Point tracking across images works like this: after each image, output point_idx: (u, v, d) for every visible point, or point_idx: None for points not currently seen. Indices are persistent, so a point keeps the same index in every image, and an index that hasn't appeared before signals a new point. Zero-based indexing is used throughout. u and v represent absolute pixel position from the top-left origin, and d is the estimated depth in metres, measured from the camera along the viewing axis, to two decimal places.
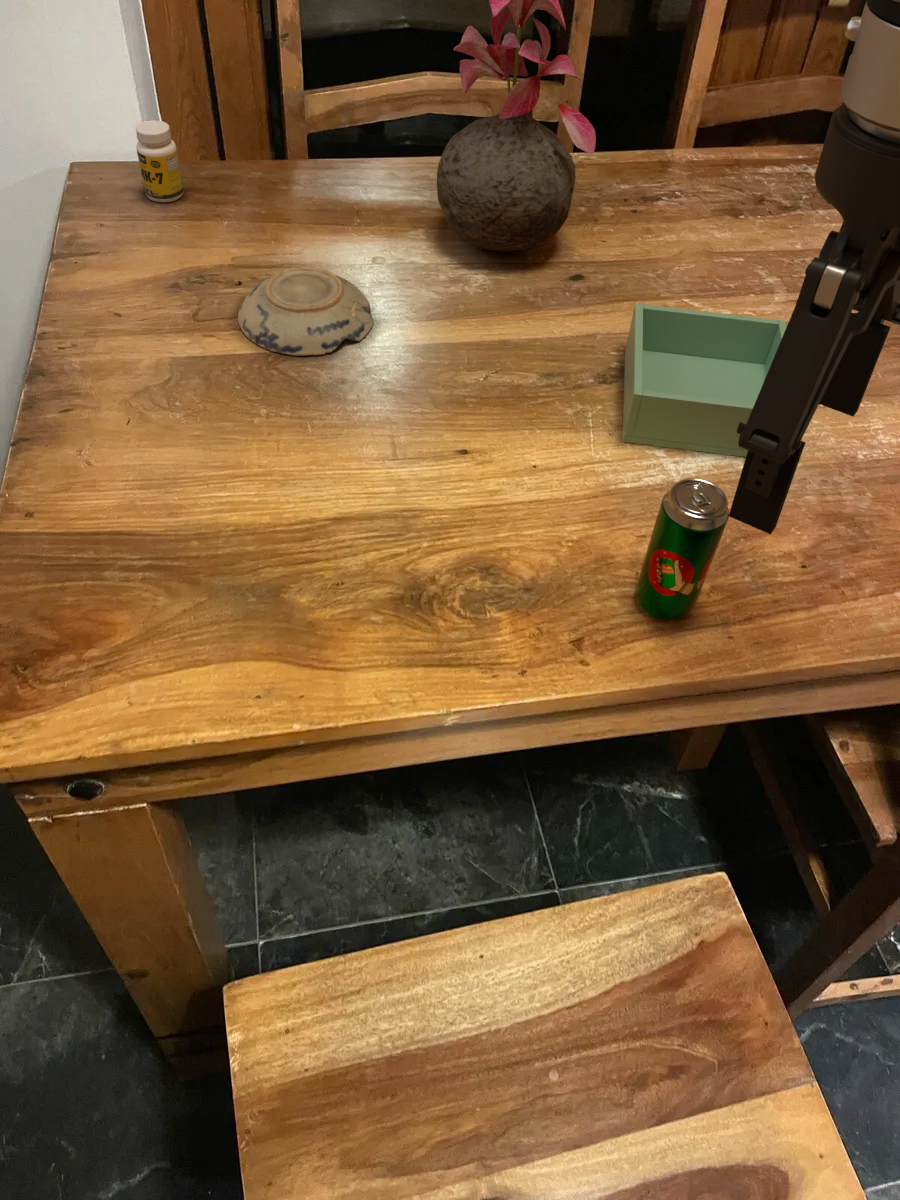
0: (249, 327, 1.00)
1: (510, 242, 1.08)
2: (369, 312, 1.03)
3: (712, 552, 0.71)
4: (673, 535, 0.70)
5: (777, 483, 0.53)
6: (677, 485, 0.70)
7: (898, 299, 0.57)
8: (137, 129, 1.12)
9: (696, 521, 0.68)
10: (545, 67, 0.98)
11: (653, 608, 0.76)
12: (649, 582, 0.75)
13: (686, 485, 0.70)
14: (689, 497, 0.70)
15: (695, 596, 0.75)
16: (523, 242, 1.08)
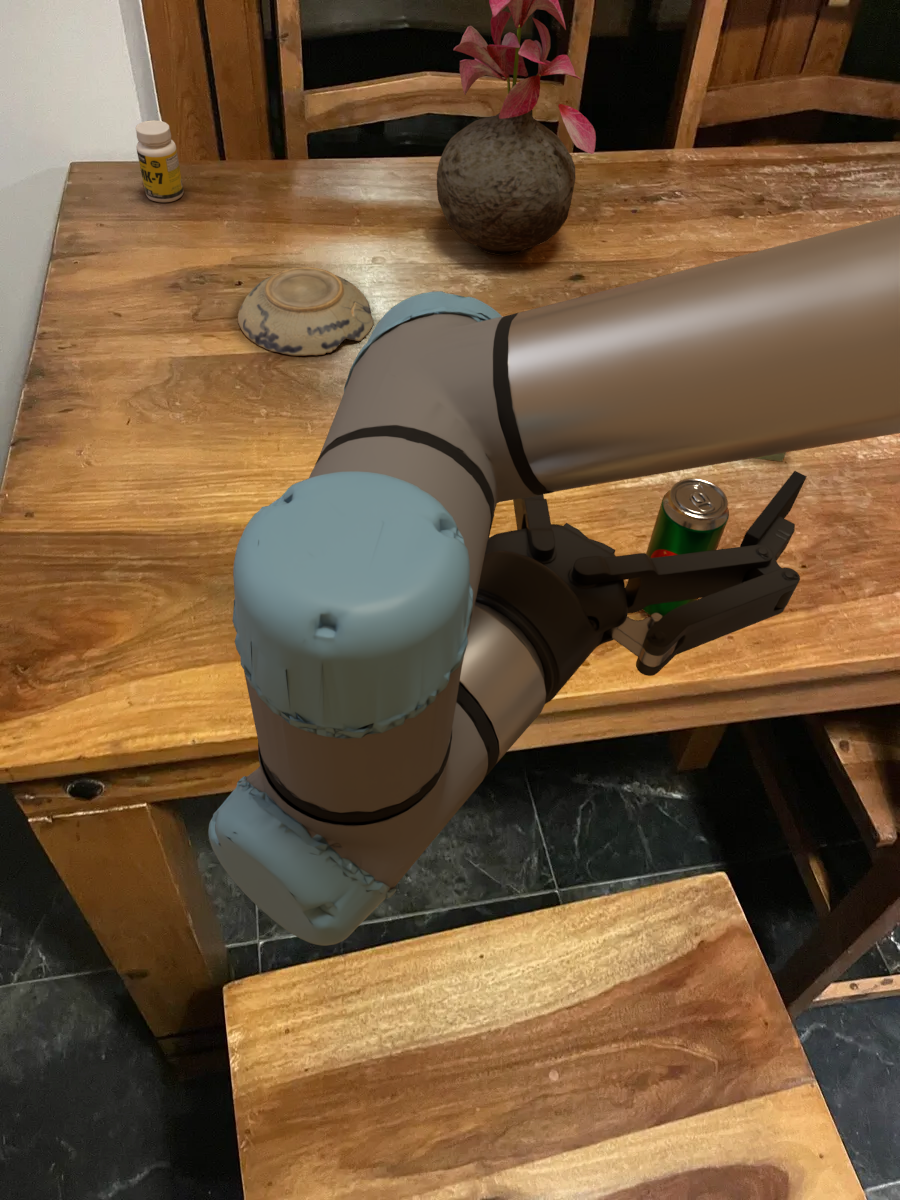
0: (249, 327, 1.00)
1: (510, 242, 1.08)
2: (369, 312, 1.03)
3: None
4: (673, 535, 0.70)
5: (776, 519, 0.52)
6: (677, 485, 0.70)
7: None
8: (137, 129, 1.12)
9: (696, 521, 0.68)
10: (545, 67, 0.98)
11: (653, 608, 0.76)
12: None
13: (686, 485, 0.70)
14: (689, 497, 0.70)
15: None
16: (523, 242, 1.08)
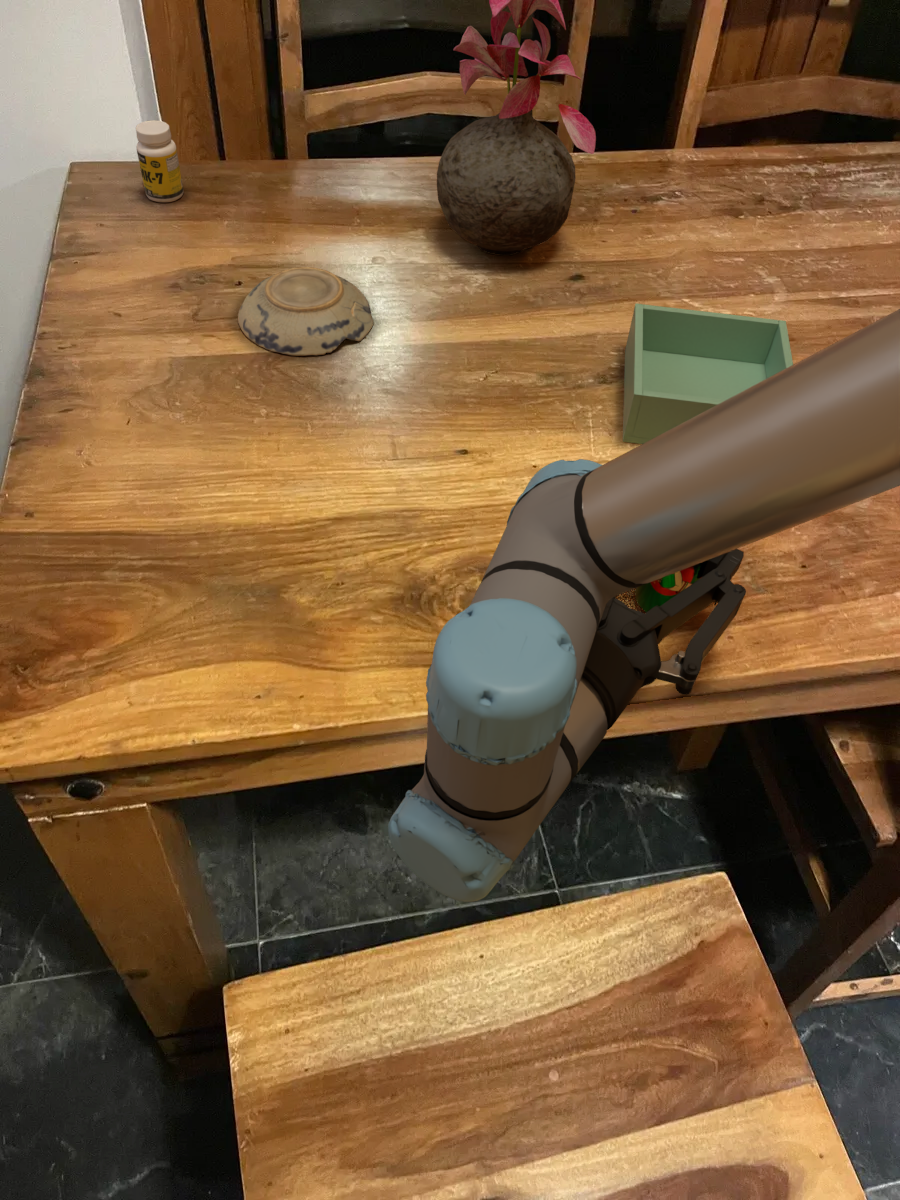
0: (249, 327, 1.00)
1: (510, 242, 1.08)
2: (369, 312, 1.03)
3: None
4: None
5: None
6: None
7: None
8: (137, 129, 1.12)
9: None
10: (545, 67, 0.98)
11: None
12: (649, 582, 0.75)
13: None
14: None
15: None
16: (523, 242, 1.08)
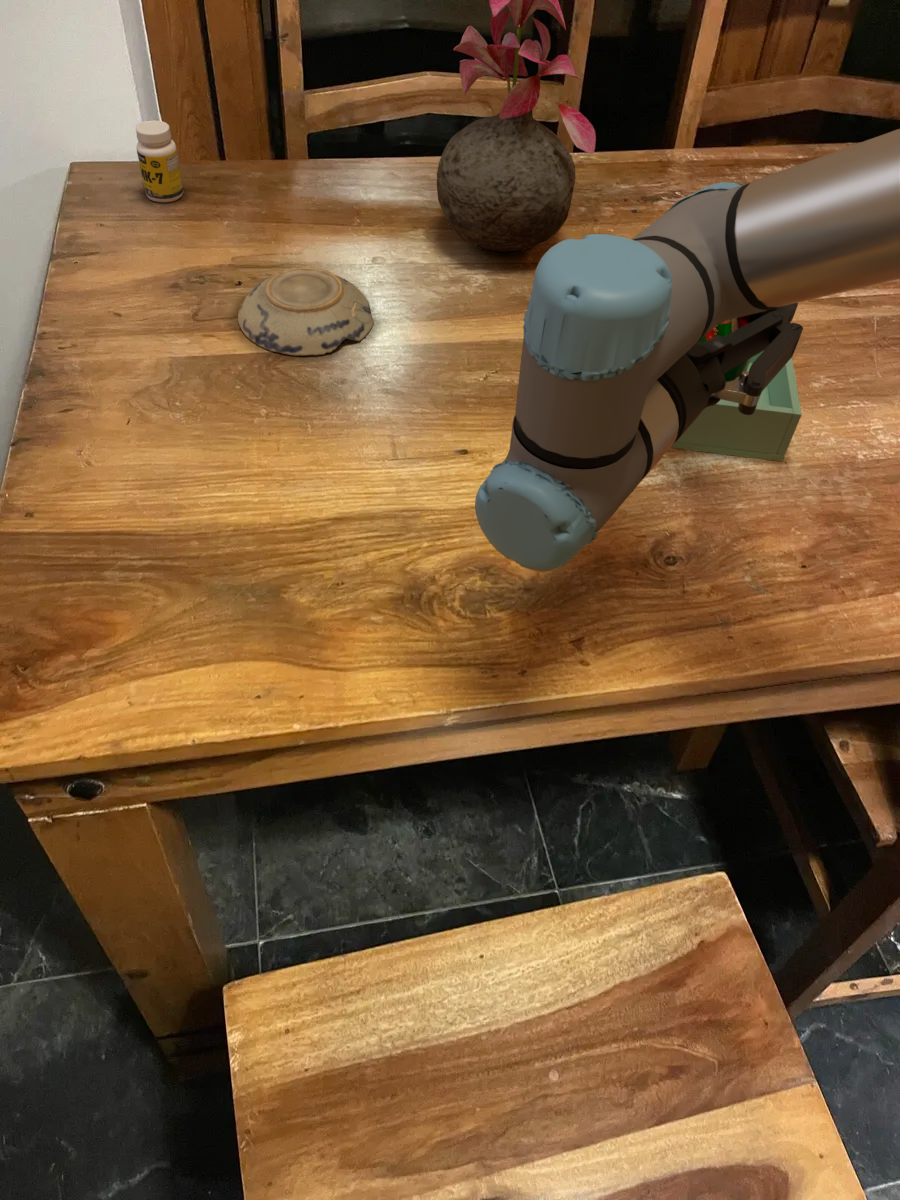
0: (249, 327, 1.00)
1: (510, 242, 1.08)
2: (369, 312, 1.03)
3: None
4: None
5: None
6: None
7: None
8: (137, 129, 1.12)
9: None
10: (545, 67, 0.98)
11: None
12: (705, 338, 0.77)
13: None
14: None
15: None
16: (523, 242, 1.08)
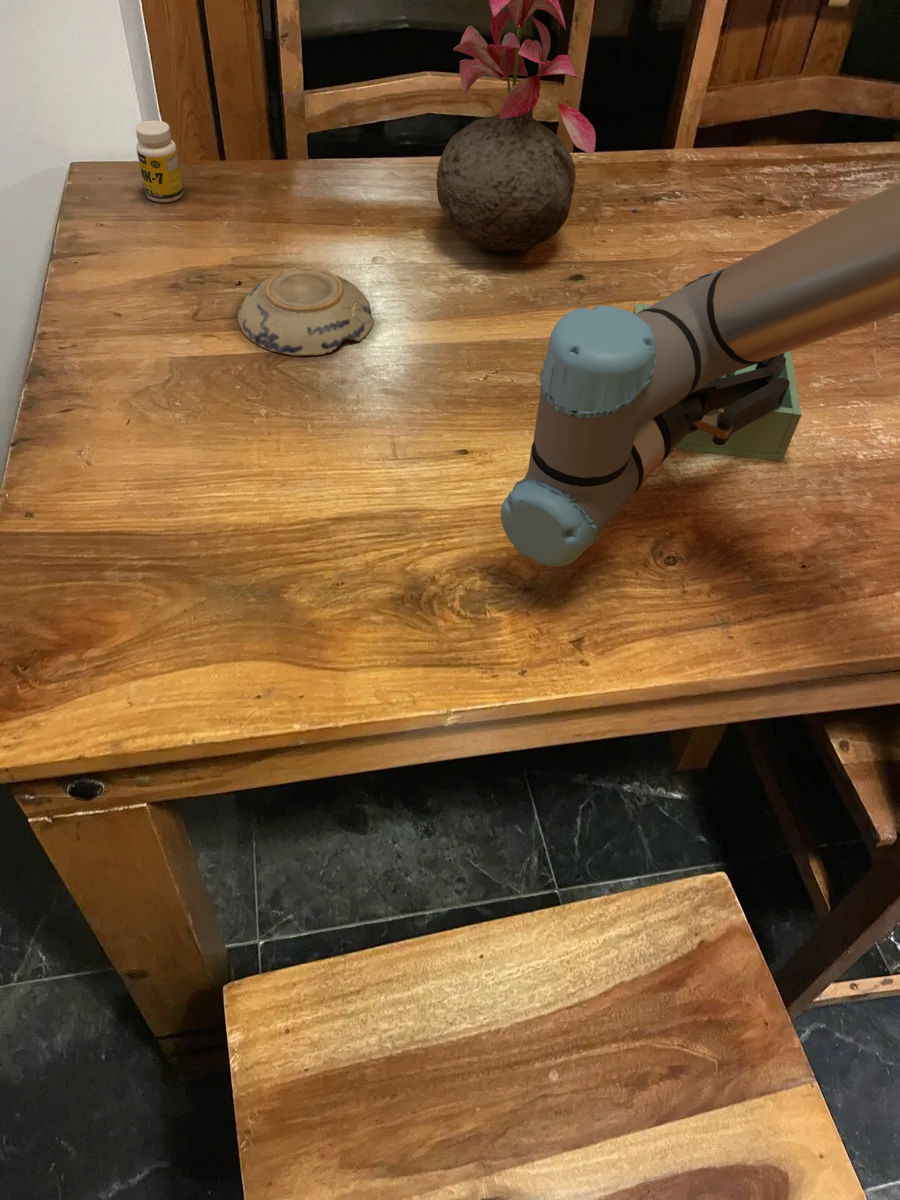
0: (249, 327, 1.00)
1: (510, 242, 1.08)
2: (369, 312, 1.03)
3: None
4: None
5: (775, 355, 0.89)
6: None
7: None
8: (137, 129, 1.12)
9: None
10: (545, 67, 0.98)
11: None
12: None
13: None
14: None
15: None
16: (523, 242, 1.08)
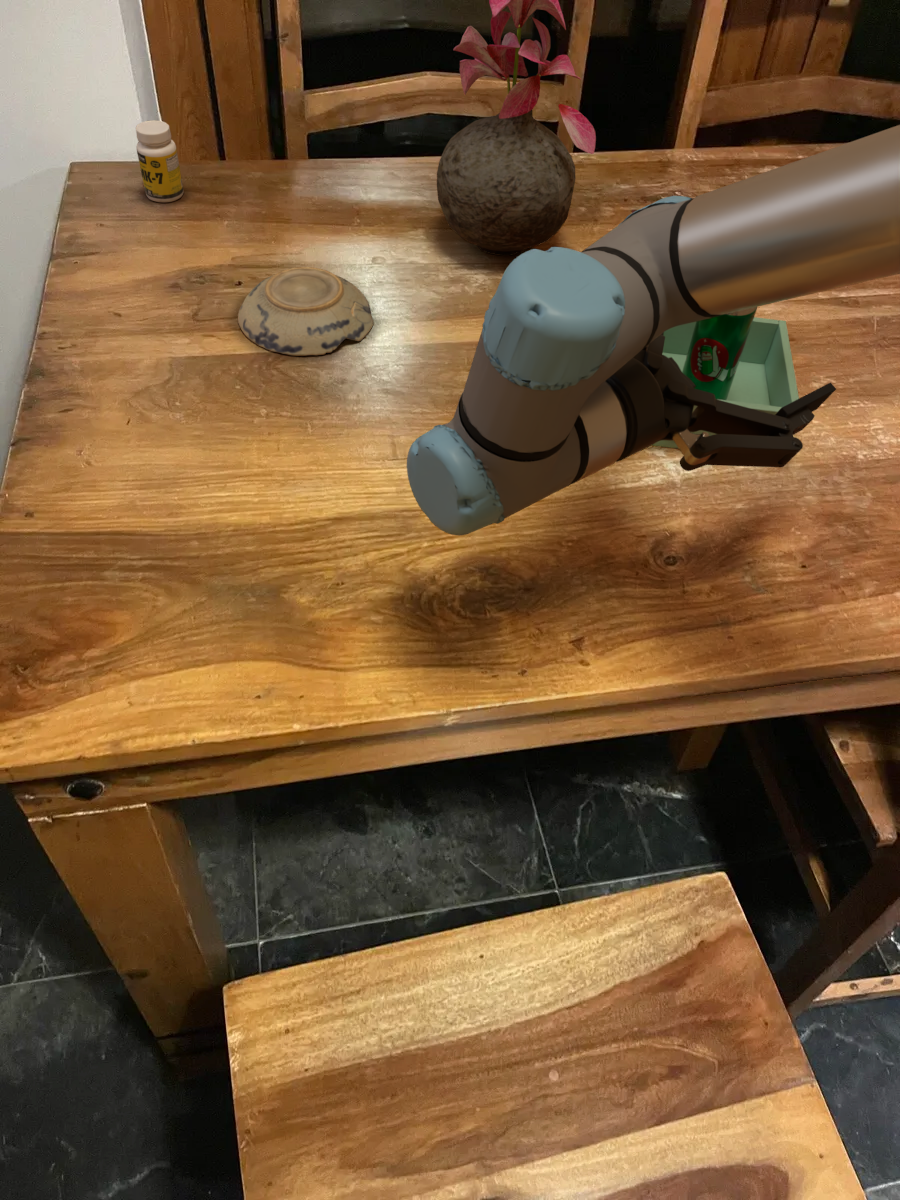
0: (249, 327, 1.00)
1: (510, 242, 1.08)
2: (369, 312, 1.03)
3: (743, 339, 0.88)
4: (712, 322, 0.87)
5: (804, 408, 0.75)
6: None
7: None
8: (137, 129, 1.12)
9: None
10: (545, 67, 0.98)
11: None
12: (691, 372, 0.92)
13: None
14: None
15: (728, 384, 0.92)
16: (523, 242, 1.08)
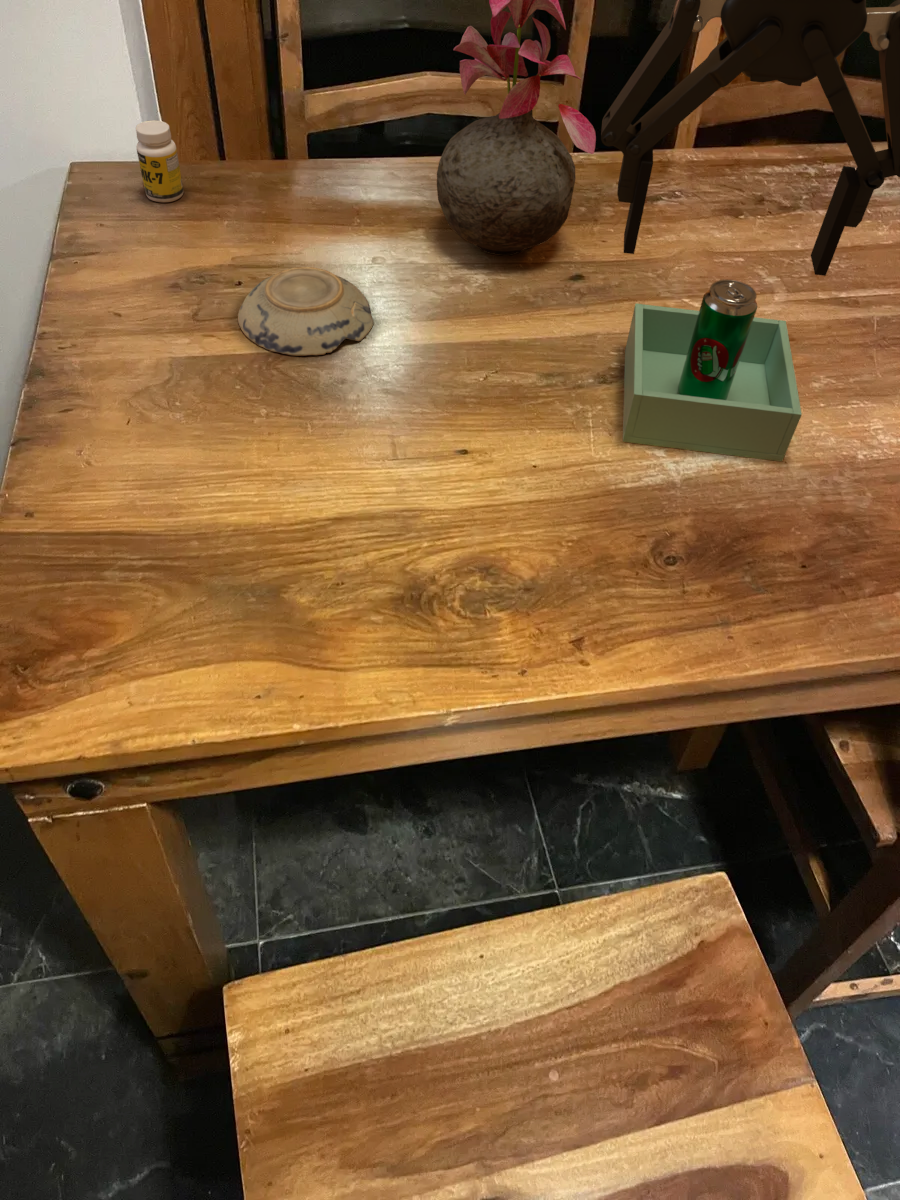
0: (249, 327, 1.00)
1: (510, 242, 1.08)
2: (369, 312, 1.03)
3: (743, 339, 0.88)
4: (712, 322, 0.87)
5: (633, 198, 0.64)
6: (715, 284, 0.88)
7: (869, 155, 0.60)
8: (137, 129, 1.12)
9: (731, 308, 0.86)
10: (545, 67, 0.98)
11: (694, 396, 0.93)
12: (691, 372, 0.92)
13: (722, 284, 0.88)
14: (726, 292, 0.87)
15: (728, 384, 0.92)
16: (523, 242, 1.08)
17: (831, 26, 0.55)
